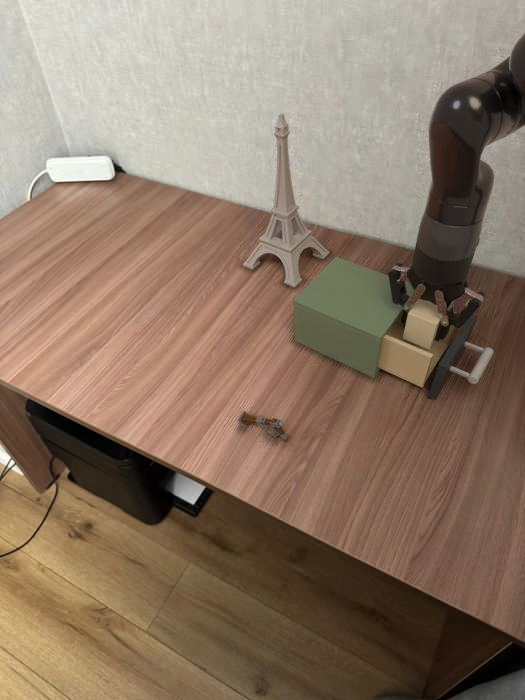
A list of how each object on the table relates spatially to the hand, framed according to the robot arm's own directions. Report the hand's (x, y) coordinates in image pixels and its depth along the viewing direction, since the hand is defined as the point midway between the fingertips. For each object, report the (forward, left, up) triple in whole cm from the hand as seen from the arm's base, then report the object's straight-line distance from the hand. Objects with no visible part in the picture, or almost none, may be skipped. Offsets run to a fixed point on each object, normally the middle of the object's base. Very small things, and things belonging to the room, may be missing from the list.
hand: (423, 331), depth 76 cm
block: (0, 0, -1) cm, 1 cm away
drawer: (-1, 0, -7) cm, 7 cm away
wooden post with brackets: (+21, +19, -8) cm, 29 cm away
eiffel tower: (+28, -23, -8) cm, 37 cm away
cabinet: (+11, -4, -8) cm, 14 cm away
